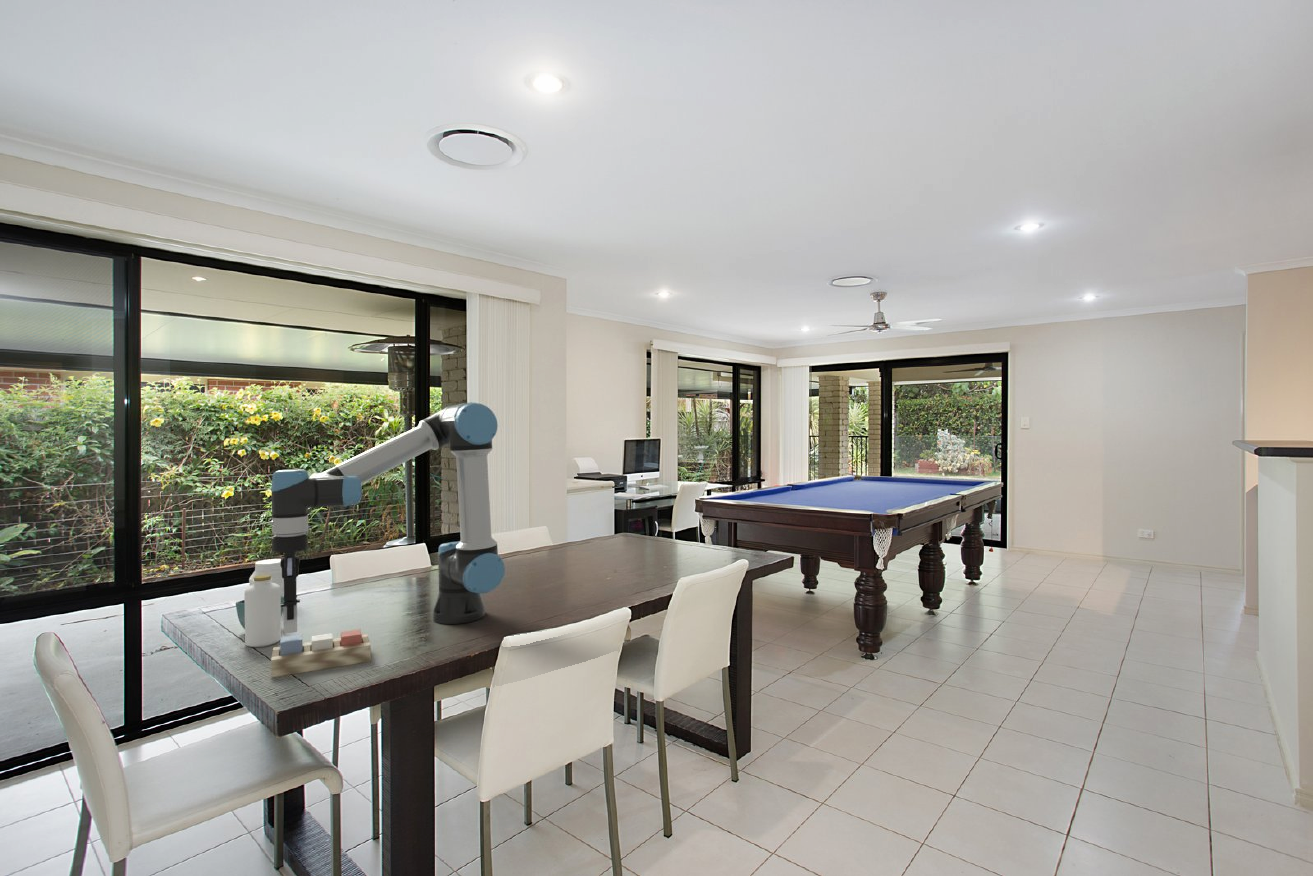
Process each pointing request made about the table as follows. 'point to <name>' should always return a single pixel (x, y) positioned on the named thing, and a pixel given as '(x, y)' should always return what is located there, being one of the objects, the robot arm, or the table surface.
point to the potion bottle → (262, 612)
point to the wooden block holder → (320, 657)
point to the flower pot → (241, 611)
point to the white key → (322, 642)
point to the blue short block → (291, 645)
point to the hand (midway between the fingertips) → (290, 631)
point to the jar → (269, 572)
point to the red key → (351, 637)
